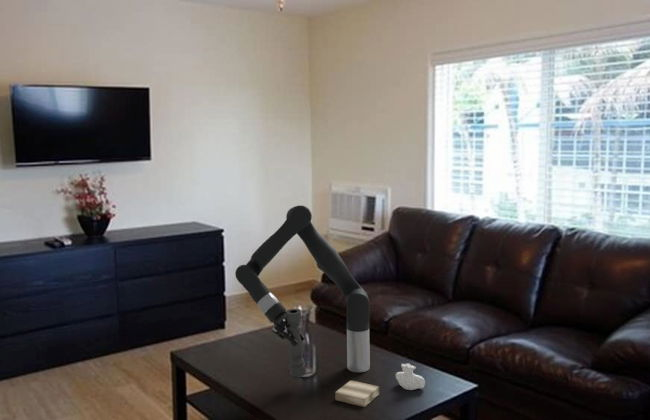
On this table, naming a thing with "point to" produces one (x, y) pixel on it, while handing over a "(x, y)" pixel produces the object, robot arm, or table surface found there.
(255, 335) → the table surface
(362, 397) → the birch plate
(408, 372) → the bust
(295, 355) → the candle holder
